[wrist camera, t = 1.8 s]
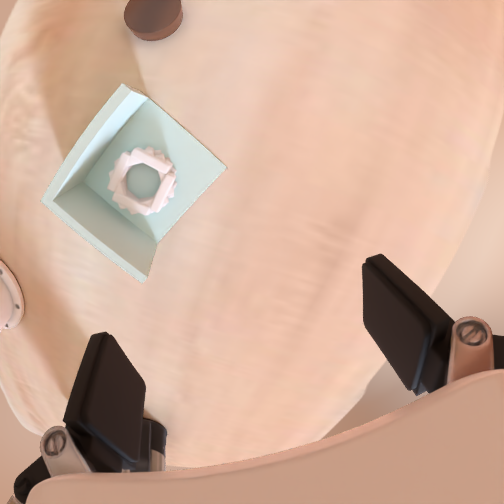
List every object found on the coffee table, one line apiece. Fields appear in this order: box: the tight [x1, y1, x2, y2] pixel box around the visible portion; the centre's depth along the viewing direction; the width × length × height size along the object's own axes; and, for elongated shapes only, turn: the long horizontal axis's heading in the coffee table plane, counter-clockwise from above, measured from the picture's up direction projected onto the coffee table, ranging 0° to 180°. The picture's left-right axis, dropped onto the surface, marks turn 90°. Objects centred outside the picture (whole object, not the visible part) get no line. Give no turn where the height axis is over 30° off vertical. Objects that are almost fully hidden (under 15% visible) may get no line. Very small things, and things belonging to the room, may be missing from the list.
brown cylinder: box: [124, 0, 183, 41], centre depth 20 cm, size 5×5×3 cm
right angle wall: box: [41, 83, 227, 283], centre depth 25 cm, size 12×12×8 cm
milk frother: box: [122, 419, 167, 473], centre depth 38 cm, size 14×16×15 cm
